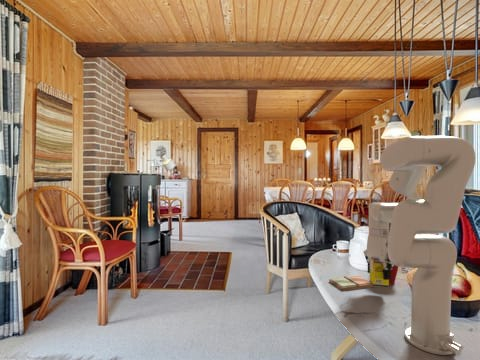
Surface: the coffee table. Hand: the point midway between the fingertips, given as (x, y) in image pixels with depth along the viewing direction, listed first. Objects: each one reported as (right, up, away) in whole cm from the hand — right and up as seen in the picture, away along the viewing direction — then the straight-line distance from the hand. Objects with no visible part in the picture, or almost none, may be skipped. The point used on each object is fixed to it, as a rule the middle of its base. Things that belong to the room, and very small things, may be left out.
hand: (378, 275), depth 115 cm
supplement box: (0, -4, 0) cm, 4 cm away
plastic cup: (+11, -8, +14) cm, 19 cm away
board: (-7, -7, +11) cm, 15 cm away
